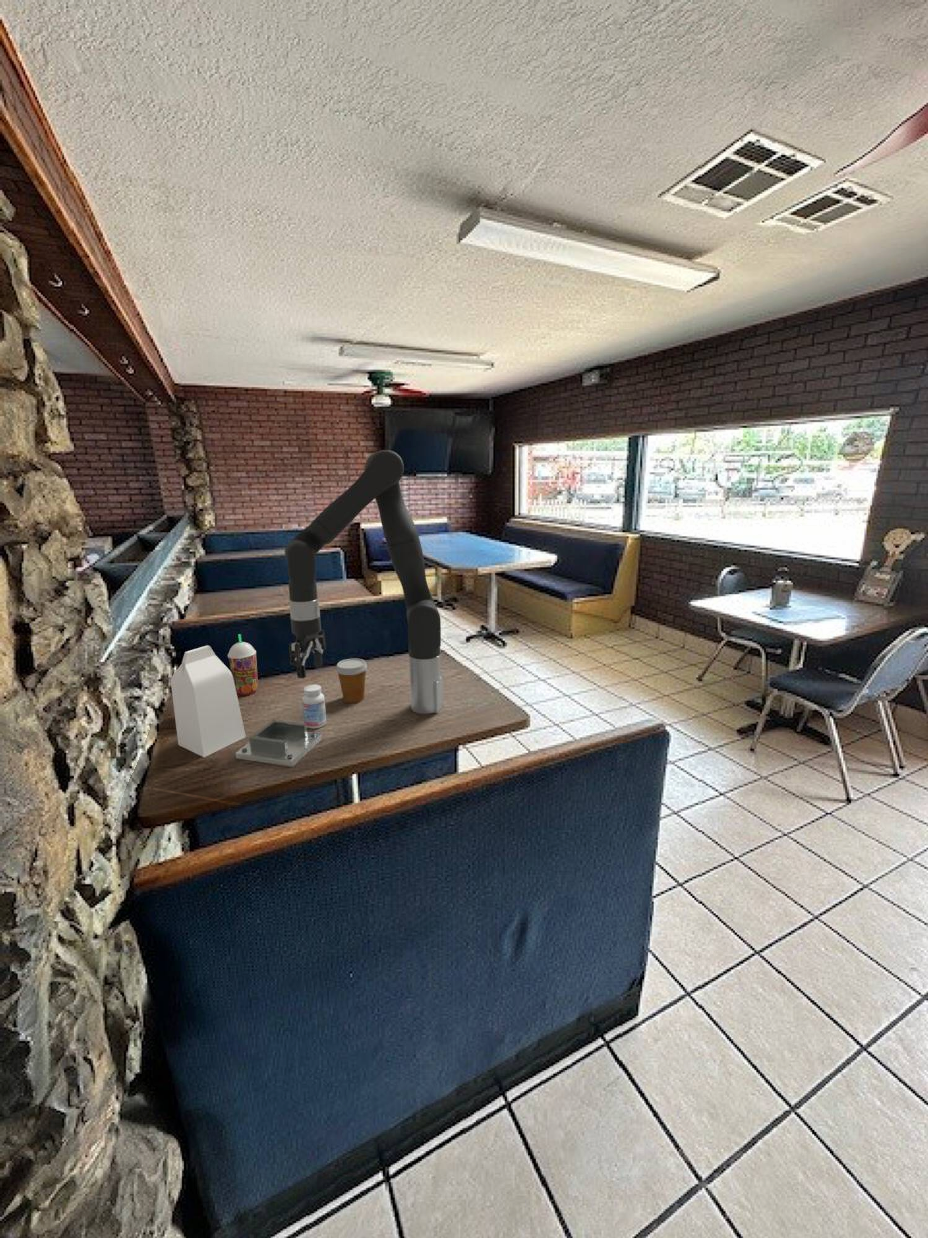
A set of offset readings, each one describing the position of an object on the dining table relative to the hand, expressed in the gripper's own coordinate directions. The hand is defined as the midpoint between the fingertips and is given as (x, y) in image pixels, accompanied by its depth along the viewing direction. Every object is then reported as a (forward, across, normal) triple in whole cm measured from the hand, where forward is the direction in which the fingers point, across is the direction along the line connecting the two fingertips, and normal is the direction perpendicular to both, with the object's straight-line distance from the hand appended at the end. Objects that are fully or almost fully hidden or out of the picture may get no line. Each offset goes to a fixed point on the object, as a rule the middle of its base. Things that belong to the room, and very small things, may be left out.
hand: (310, 672), depth 140 cm
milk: (+16, -15, +22) cm, 31 cm away
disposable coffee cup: (+16, +18, -3) cm, 24 cm away
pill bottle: (+16, 0, 0) cm, 16 cm away
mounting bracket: (+16, -14, +2) cm, 21 cm away
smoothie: (+16, +14, +33) cm, 39 cm away
